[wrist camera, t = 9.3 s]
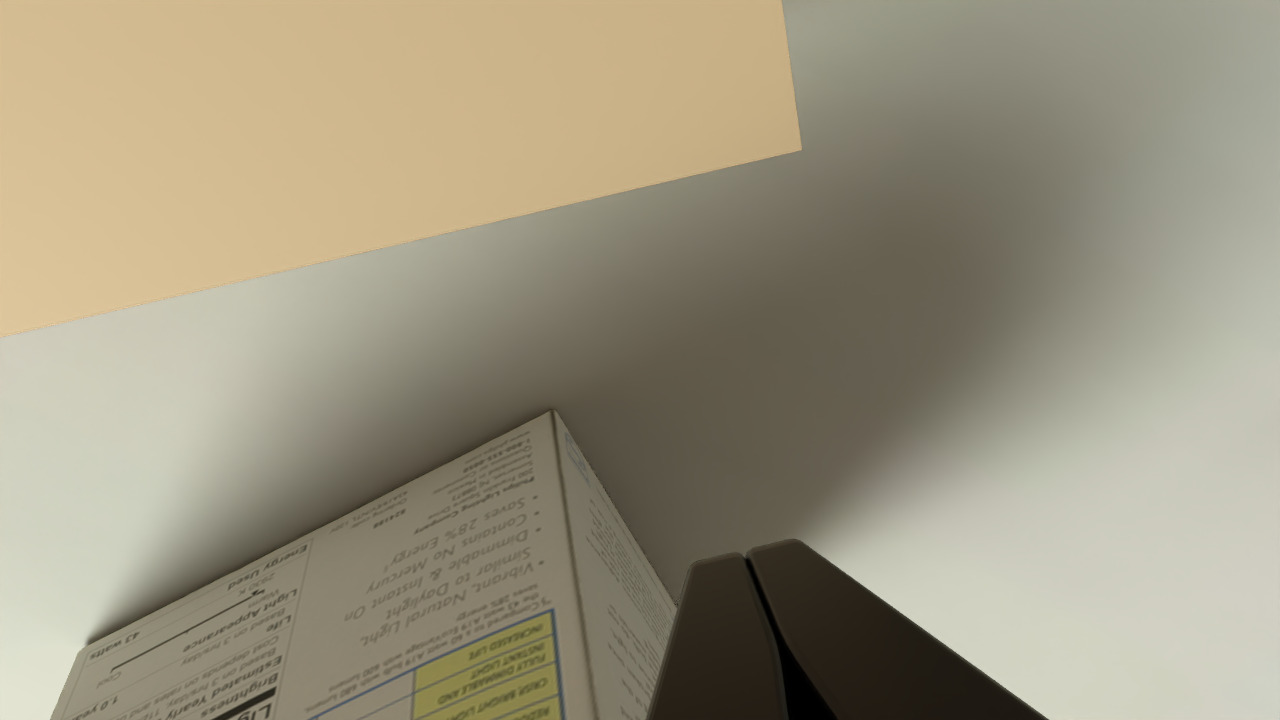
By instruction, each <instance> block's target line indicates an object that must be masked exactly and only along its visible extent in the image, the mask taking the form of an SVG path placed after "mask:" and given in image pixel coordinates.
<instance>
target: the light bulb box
mask: <svg viewBox="0 0 1280 720" xmlns="http://www.w3.org/2000/svg"><path fill="white" fill-rule="evenodd" d="M676 611H677V608H676V606H675V604H674V603H673V601H672V599H671V598H670V596H669V594H668V593H667V591H666V589H665V588H664V586H663V584H662V583H661V581H660V579H659V578H658V576H657V575H656V573H655V571H654V570H653V568H652V566H651V565H650V563H649V561H648V560H647V558H646V557H645V555H644V553H643V552H642V550H641V548H640V547H639V545H638V544H637V542H636V540H635V539H634V537H633V535H632V534H631V532H630V531H629V529H628V527H627V526H626V524H625V523H624V521H623V519H622V518H621V516H620V515H619V513H618V511H617V510H616V508H615V506H614V505H613V503H612V501H611V500H610V498H609V496H608V495H607V493H606V491H605V490H604V488H603V487H602V485H601V483H600V482H599V480H598V478H597V477H596V475H595V474H594V472H593V470H592V469H591V467H590V465H589V464H588V462H587V461H586V459H585V457H584V456H583V454H582V453H581V451H580V449H579V448H578V446H577V444H576V443H575V441H574V439H573V438H572V436H571V434H570V433H569V431H568V429H567V428H566V426H565V424H564V423H563V421H562V420H561V418H560V416H559V415H558V413H557V412H556V411H555V410H549V411H548V412H546V413H545V414H543V415H541V416H539V417H537V418H535V419H533V420H531V421H529V422H527V423H525V424H523V425H521V426H519V427H517V428H515V429H513V430H511V431H509V432H507V433H505V434H504V435H501V436H499V437H497V438H495V439H493V440H491V441H489V442H488V443H486V444H484V445H482V446H480V447H478V448H476V449H474V450H472V451H470V452H468V453H466V454H464V455H462V456H461V457H459V458H457V459H455V460H453V461H451V462H449V463H447V464H445V465H443V466H441V467H439V468H437V469H435V470H433V471H431V472H429V473H427V474H425V475H423V476H421V477H419V478H417V479H415V480H413V481H411V482H409V483H407V484H405V485H403V486H401V487H399V488H397V489H395V490H393V491H391V492H389V493H387V494H386V495H384V496H382V497H380V498H378V499H376V500H374V501H372V502H370V503H368V504H366V505H364V506H362V507H360V508H358V509H356V510H354V511H352V512H351V513H349V514H347V515H345V516H343V517H341V518H339V519H337V520H335V521H333V522H331V523H329V524H327V525H325V526H323V527H321V528H319V529H317V530H315V531H313V532H311V533H309V534H307V535H305V536H303V537H301V538H299V539H297V540H295V541H293V542H291V543H289V544H287V545H285V546H283V547H281V548H279V549H277V550H275V551H273V552H271V553H269V554H267V555H266V556H264V557H262V558H260V559H258V560H256V561H254V562H252V563H250V564H248V565H246V566H245V567H243V568H241V569H239V570H237V571H234V572H232V573H230V574H228V575H226V576H224V577H222V578H220V579H218V580H216V581H214V582H212V583H210V584H208V585H206V586H204V587H202V588H200V589H198V590H196V591H194V592H192V593H190V594H189V595H187V596H185V597H183V598H181V599H179V600H177V601H175V602H173V603H171V604H169V605H167V606H165V607H163V608H161V609H159V610H157V611H155V612H153V613H151V614H149V615H147V616H145V617H143V618H141V619H139V620H138V621H136V622H134V623H132V624H130V625H128V626H126V627H124V628H122V629H120V630H118V631H116V632H114V633H112V634H110V635H108V636H106V637H104V638H102V639H100V640H98V641H96V642H94V643H92V644H90V645H88V646H86V647H84V648H83V649H82V650H81V651H79V652H78V654H77V656H76V659H75V661H74V664H73V666H72V668H71V671H70V673H69V676H68V678H67V681H66V683H65V685H64V688H63V690H62V692H61V694H60V697H59V700H58V703H57V705H56V707H55V709H54V711H53V714H52V716H51V719H50V720H645V719H646V715H647V712H648V708H649V705H650V701H651V698H652V694H653V691H654V687H655V684H656V681H657V677H658V674H659V670H660V667H661V663H662V660H663V656H664V653H665V649H666V646H667V642H668V639H669V635H670V632H671V628H672V625H673V621H674V618H675V614H676Z"/></svg>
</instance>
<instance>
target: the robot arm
mask: <svg viewBox="0 0 1280 720" xmlns="http://www.w3.org/2000/svg"><path fill="white" fill-rule="evenodd" d="M645 720H1049V719H1047V718H1046V717H1045V716H1043V715H1042V714H1040V713H1039V712H1038V711H1036V710H1035V709H1034V708H1032V707H1031V706H1029V705H1028V704H1027V703H1025V702H1024V701H1022V700H1021V699H1020V698H1018V697H1017V696H1015V695H1014V694H1013V693H1011V692H1010V691H1009V690H1007V689H1006V688H1004V687H1003V686H1002V685H1000V684H999V683H997V682H996V681H995V680H993V679H992V678H990V677H989V676H988V675H986V674H985V673H984V672H982V671H981V670H979V669H978V668H977V667H975V666H974V665H972V664H971V663H970V662H968V661H967V660H965V659H964V658H963V657H961V656H960V655H959V654H957V653H956V652H954V651H953V650H952V649H950V648H949V647H947V646H946V645H945V644H943V643H942V642H940V641H939V640H938V639H936V638H935V637H934V636H932V635H931V634H929V633H928V632H927V631H925V630H924V629H922V628H921V627H920V626H918V625H917V624H915V623H914V622H913V621H911V620H910V619H909V618H907V617H906V616H904V615H903V614H902V613H900V612H899V611H897V610H896V609H895V608H893V607H892V606H890V605H889V604H888V603H886V602H885V601H884V600H882V599H881V598H879V597H878V596H877V595H875V594H874V593H872V592H871V591H870V590H868V589H867V588H865V587H864V586H863V585H861V584H860V583H859V582H857V581H856V580H854V579H853V578H852V577H850V576H849V575H847V574H846V573H845V572H843V571H842V570H840V569H839V568H838V567H836V566H835V565H834V564H832V563H831V562H829V561H828V560H827V559H825V558H824V557H822V556H821V555H820V554H818V553H817V552H816V551H814V550H813V549H811V548H810V547H809V546H807V545H806V544H804V543H803V542H801V541H800V540H796V539H788V540H784V541H779V542H775V543H771V544H767V545H763V546H758V547H754V548H752V549H750V550H749V551H748V552H747V554H746V559H745V557H744V556H743V555H742V554H740V553H737V552H734V553H729V554H725V555H721V556H716V557H712V558H708V559H704V560H700V561H696V562H694V563H693V564H692V565H691V566H690V568H689V570H688V573H687V576H686V580H685V583H684V587H683V590H682V594H681V597H680V600H679V604H678V607H677V611H676V614H675V618H674V621H673V625H672V628H671V632H670V635H669V639H668V642H667V646H666V649H665V653H664V656H663V660H662V663H661V667H660V670H659V674H658V677H657V681H656V684H655V687H654V691H653V694H652V698H651V701H650V705H649V708H648V712H647V715H646V719H645Z"/></svg>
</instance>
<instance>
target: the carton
mask: <svg viewBox="0 0 1280 720" xmlns="http://www.w3.org/2000/svg"><path fill="white" fill-rule="evenodd" d="M800 150H802V146H801V138H800V131H799V124H798V116H797V109H796V102H795V94H794V87H793V80H792V72H791V65H790V58H789V50H788V43H787V36H786V28H785V21H784V14H783V7H782V0H0V337H5V336H9V335H13V334H18V333H22V332H26V331H30V330H35V329H39V328H43V327H47V326H52V325H56V324H60V323H65V322H69V321H73V320H77V319H82V318H86V317H90V316H94V315H99V314H103V313H107V312H112V311H116V310H120V309H124V308H129V307H133V306H137V305H142V304H146V303H150V302H154V301H159V300H163V299H167V298H171V297H176V296H180V295H184V294H189V293H193V292H197V291H201V290H206V289H210V288H214V287H219V286H223V285H227V284H231V283H236V282H240V281H244V280H248V279H253V278H257V277H261V276H266V275H270V274H274V273H278V272H283V271H287V270H291V269H295V268H300V267H304V266H308V265H313V264H317V263H321V262H325V261H330V260H334V259H338V258H343V257H347V256H351V255H355V254H360V253H364V252H368V251H372V250H377V249H381V248H385V247H390V246H394V245H398V244H402V243H407V242H411V241H415V240H420V239H424V238H428V237H432V236H437V235H441V234H445V233H449V232H454V231H458V230H462V229H467V228H471V227H475V226H479V225H484V224H488V223H492V222H496V221H501V220H505V219H509V218H514V217H518V216H522V215H526V214H531V213H535V212H539V211H544V210H548V209H552V208H556V207H561V206H565V205H569V204H573V203H578V202H582V201H586V200H591V199H595V198H599V197H603V196H608V195H612V194H616V193H621V192H625V191H629V190H633V189H638V188H642V187H646V186H650V185H655V184H659V183H663V182H668V181H672V180H676V179H680V178H685V177H689V176H693V175H697V174H702V173H706V172H710V171H715V170H719V169H723V168H727V167H732V166H736V165H740V164H745V163H749V162H753V161H757V160H762V159H766V158H770V157H774V156H779V155H783V154H787V153H792V152H796V151H800Z"/></svg>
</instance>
